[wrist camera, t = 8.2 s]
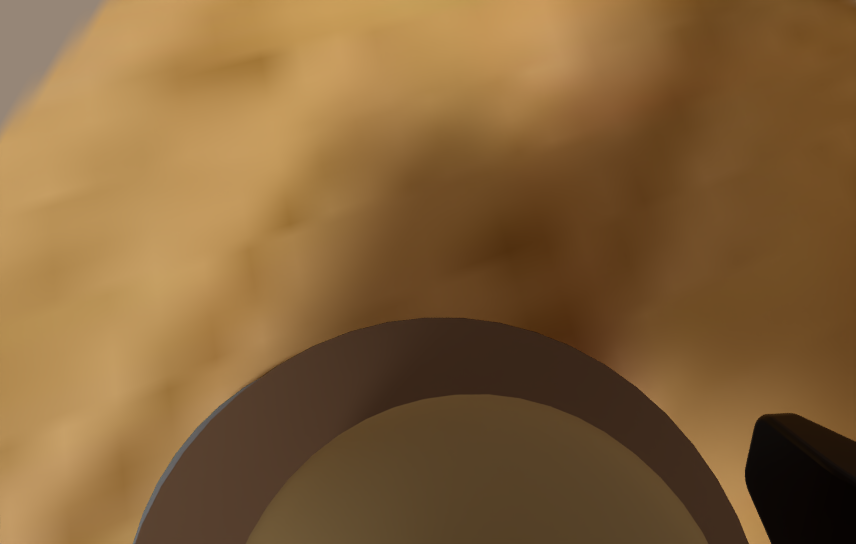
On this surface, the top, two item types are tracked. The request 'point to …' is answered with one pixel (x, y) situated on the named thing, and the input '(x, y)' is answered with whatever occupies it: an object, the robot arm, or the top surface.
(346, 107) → the top surface
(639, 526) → the pepper mill
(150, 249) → the top surface
